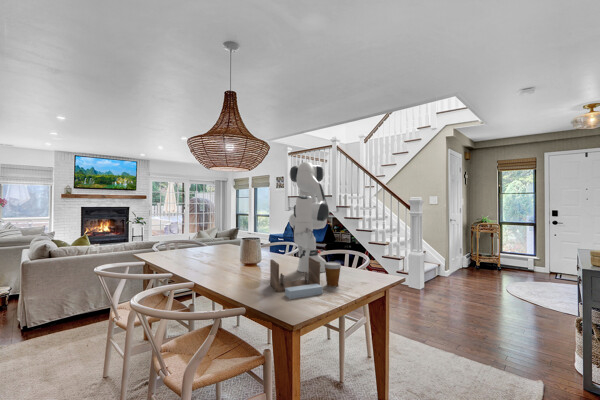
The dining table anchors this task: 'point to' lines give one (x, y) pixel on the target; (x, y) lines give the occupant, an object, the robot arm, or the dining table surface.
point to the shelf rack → (309, 278)
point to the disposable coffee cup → (332, 273)
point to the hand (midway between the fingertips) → (303, 255)
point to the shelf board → (303, 291)
